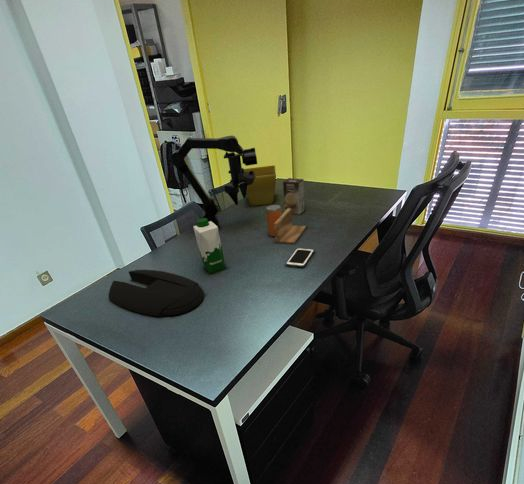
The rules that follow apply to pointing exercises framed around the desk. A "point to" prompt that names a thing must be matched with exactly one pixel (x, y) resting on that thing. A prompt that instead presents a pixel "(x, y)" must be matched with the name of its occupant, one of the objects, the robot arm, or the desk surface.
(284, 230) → the wooden bookend
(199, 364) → the desk surface
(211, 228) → the milk carton
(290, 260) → the cell phone
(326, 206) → the desk surface
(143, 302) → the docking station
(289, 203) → the coffee box
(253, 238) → the desk surface
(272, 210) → the tin can
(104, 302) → the desk surface
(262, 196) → the cardboard box
